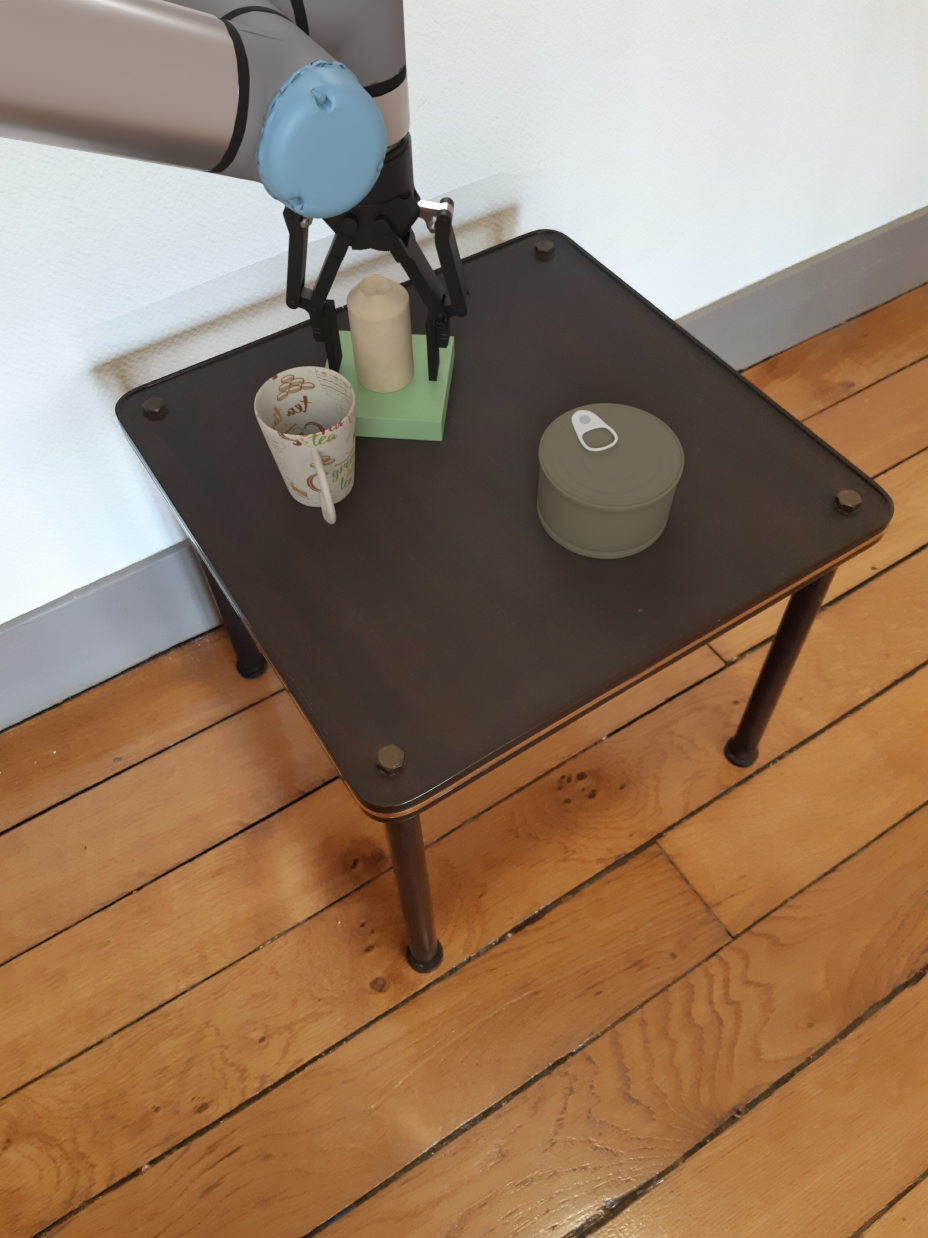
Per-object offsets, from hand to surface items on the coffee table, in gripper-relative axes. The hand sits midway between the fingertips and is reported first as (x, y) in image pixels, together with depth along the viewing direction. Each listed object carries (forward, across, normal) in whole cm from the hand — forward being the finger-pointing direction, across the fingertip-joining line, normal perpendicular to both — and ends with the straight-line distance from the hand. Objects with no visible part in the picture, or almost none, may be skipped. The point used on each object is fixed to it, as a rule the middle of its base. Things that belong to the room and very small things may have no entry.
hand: (385, 368), depth 89 cm
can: (+3, -21, +13) cm, 25 cm away
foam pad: (+3, 0, 0) cm, 3 cm away
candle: (+1, 0, 0) cm, 1 cm away
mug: (+3, +4, +14) cm, 15 cm away
